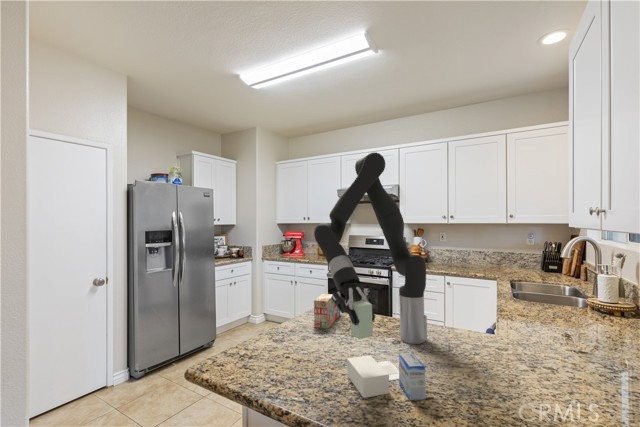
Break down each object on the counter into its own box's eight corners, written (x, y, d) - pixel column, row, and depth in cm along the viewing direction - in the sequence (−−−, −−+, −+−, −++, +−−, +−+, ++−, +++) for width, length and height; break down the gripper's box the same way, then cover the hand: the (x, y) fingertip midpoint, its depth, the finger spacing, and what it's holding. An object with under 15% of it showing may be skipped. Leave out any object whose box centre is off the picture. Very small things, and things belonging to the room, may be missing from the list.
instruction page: (388, 361, 97) (388, 360, 97) (407, 378, 87) (407, 376, 87) (366, 364, 95) (366, 363, 95) (382, 382, 85) (382, 381, 85)
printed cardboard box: (328, 313, 150) (328, 289, 151) (340, 314, 148) (340, 290, 149) (314, 327, 130) (313, 299, 131) (327, 329, 128) (327, 300, 129)
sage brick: (364, 330, 88) (363, 300, 88) (372, 336, 84) (371, 304, 84) (351, 333, 86) (350, 302, 86) (359, 339, 82) (358, 306, 82)
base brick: (370, 371, 91) (369, 355, 91) (389, 393, 79) (388, 374, 79) (347, 375, 89) (347, 358, 89) (363, 397, 77) (363, 378, 77)
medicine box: (398, 384, 84) (398, 353, 84) (414, 383, 84) (413, 352, 84) (409, 401, 76) (408, 366, 76) (426, 399, 76) (425, 365, 76)
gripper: (326, 267, 89) (347, 319, 78) (366, 264, 95) (391, 311, 84) (320, 282, 94) (338, 333, 83) (358, 278, 100) (380, 325, 88)
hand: (365, 322), depth 83 cm, fingers closed on sage brick, 4 cm apart
